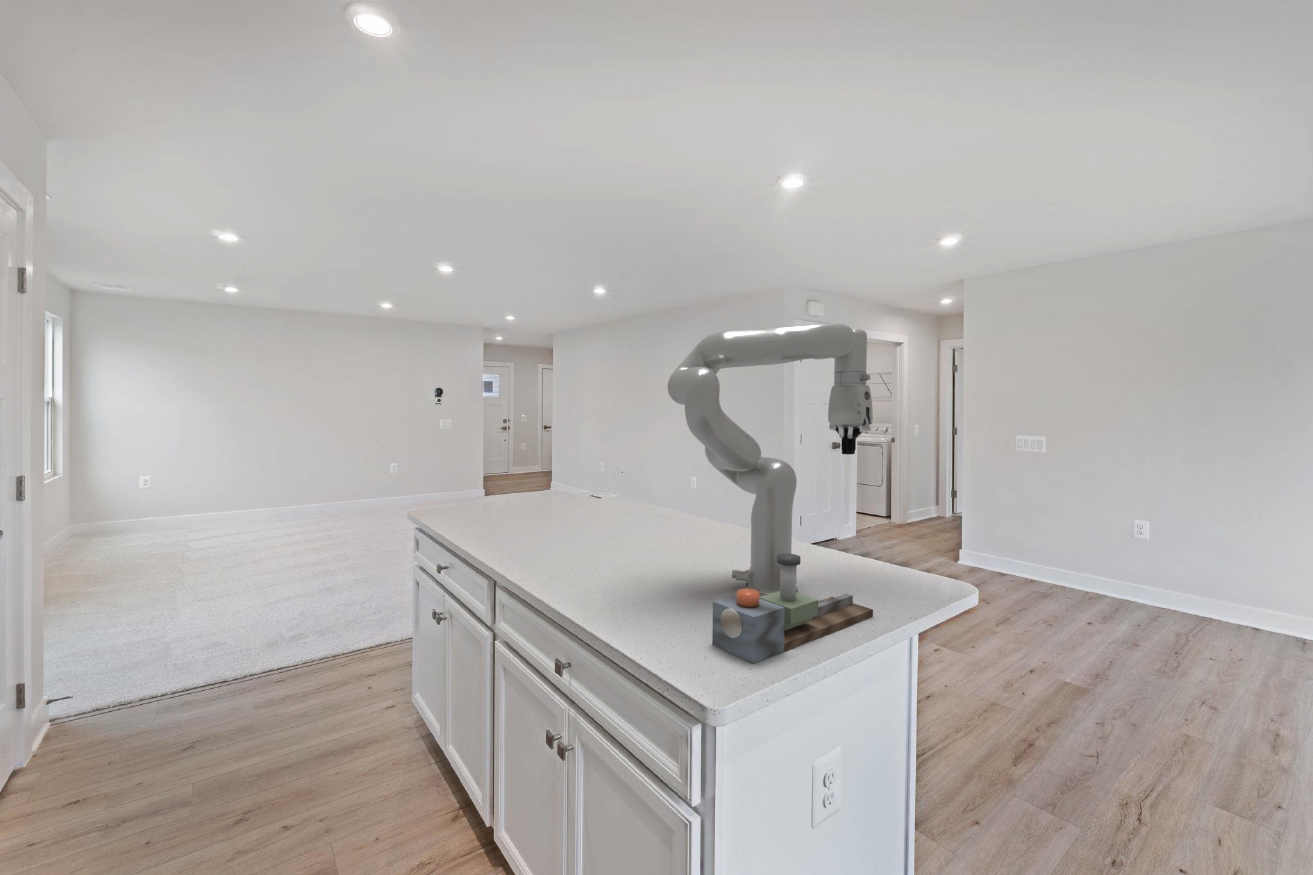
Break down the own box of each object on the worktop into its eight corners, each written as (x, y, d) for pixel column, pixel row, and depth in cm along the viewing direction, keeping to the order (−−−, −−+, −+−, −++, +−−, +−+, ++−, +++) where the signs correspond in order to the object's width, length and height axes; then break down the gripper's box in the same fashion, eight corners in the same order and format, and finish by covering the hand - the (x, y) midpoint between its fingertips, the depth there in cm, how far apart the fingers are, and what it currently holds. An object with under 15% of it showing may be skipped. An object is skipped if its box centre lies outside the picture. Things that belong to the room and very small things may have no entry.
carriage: (790, 632, 104) (791, 564, 103) (757, 620, 110) (758, 555, 109) (817, 623, 109) (819, 557, 108) (784, 611, 115) (785, 549, 114)
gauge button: (748, 608, 100) (748, 597, 99) (732, 602, 103) (732, 591, 103) (763, 603, 102) (764, 592, 102) (747, 597, 105) (747, 587, 105)
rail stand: (751, 664, 96) (752, 617, 96) (710, 644, 104) (711, 601, 104) (872, 616, 119) (873, 578, 118) (831, 603, 127) (832, 567, 126)
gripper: (886, 379, 137) (884, 455, 138) (833, 381, 149) (831, 451, 150) (868, 378, 133) (866, 456, 133) (815, 380, 144) (814, 452, 145)
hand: (848, 453), depth 142 cm, fingers closed
